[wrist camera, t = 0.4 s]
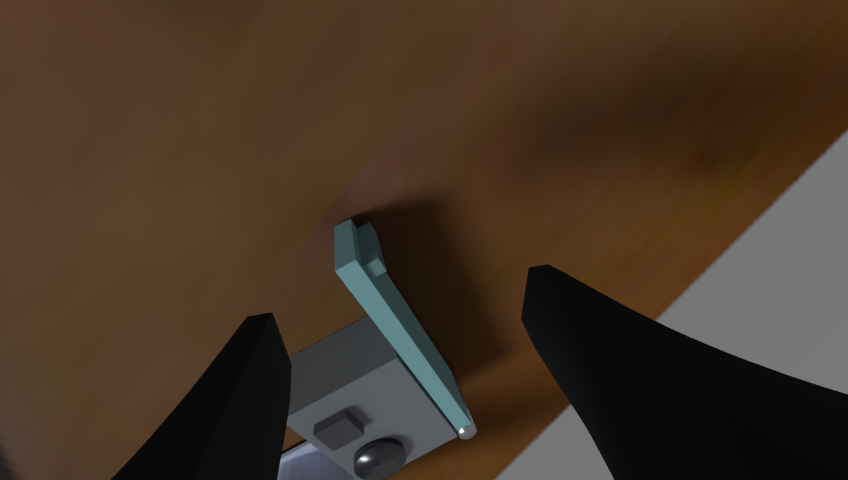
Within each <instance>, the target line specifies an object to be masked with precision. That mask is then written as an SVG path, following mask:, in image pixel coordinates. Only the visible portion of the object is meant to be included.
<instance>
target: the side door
mask: <svg viewBox="0 0 848 480" xmlns="http://www.w3.org/2000/svg"><path fill="white" fill-rule="evenodd" d="M334 241H335V272H336V273H337V274H338V276H339V277H340V278H341V280H342V281H343V282H344V283H345V285H346V286H347V287H348V289H349V290H350V291H351V293H352V294H353V295H354V297H355V298H356V299H357V300H358V302H359V303H360V304H361V306H362V307H363V308H364V310H365V311H366V312H367V313H368V315H369V316H370V317H371V319H372V320H373V321H374V323H375V324H376V325H377V327H378V328H379V329H380V330H381V332H382V333H383V334H384V336H385V337H386V338H387V340H388V341H389V342H390V343H391V345H392V346H393V347H394V349H395V350H396V351H397V353H398V354H399V355H400V357H401V358H402V359H403V360H404V362H405V363H406V364H407V366H408V367H409V368H410V370H411V371H412V372H413V373H414V375H415V376H416V377H417V379H418V380H419V381H420V383H421V384H422V385H423V387H424V388H425V389H426V390H427V392H428V393H429V394H430V396H431V397H432V398H433V400H434V401H435V402H436V403H437V405H438V406H439V407H440V409H441V410H442V411H443V413H444V414H445V415H446V417H447V418H448V419H449V420H450V422H451V423H452V424H453V426H454V427H455V428H456V430H457V431H458V434H459V437H460V438H461V439H464V440H465V439H470V438H472V437H473V436H474V435H475V434H476V433H477V429H476V427H475V424H474V422H473V419H472V417H471V414H470V412H469V409H468V407H467V404H466V402H465V399H464V397H463V394H462V392H461V389H460V387H459V384H458V382H457V379H456V377H455V374H454V372H453V370H451V369H449V367H448V365H447V364H446V362H445V361H444V359H443V358H442V356H441V355H440V353H439V352H438V350H437V349H436V347H435V346H434V344H433V343H432V341H431V340H430V338H429V337H428V335H427V334H426V332H425V331H424V329H423V328H422V326H421V325H420V323H419V322H418V320H417V319H416V317H415V315H414V314H413V312H412V311H411V309H410V308H409V306H408V305H407V303H406V302H405V300H404V299H403V297H402V296H401V294H400V293H399V291H398V290H397V288H396V287H395V285H394V284H393V282H392V281H391V279H390V278H389V276H388V275H387V273H386V271H387V270H386V266H385V263H384V259H383V255H382V252H381V248H380V244H379V241H378V237H377V233H376V232H375V230H374V229H373V227H372V225H371V224H370V222H369V223H367V224H365V225H363V226H361V227H359V228H358V229H357V228H356V226H355V225H354V223H353V222H352V220H351V219H349V220H347V221H345V222H343V223H341V224H340V225H338V226H336V227H334Z"/></svg>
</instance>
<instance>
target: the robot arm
mask: <svg viewBox="0 0 848 480" xmlns="http://www.w3.org/2000/svg"><path fill="white" fill-rule="evenodd" d="M521 320H522V322H523V324H524V326H525V328H526V330H527V333H528V335H529V337H530V339H531V341H532V343H533V345H534V347H535V349H536V350H537V352H538V354H539V355H540V357H541V358H542V360H543V361H544V363H545V365H546V366H547V368H548V369H549V371H550V372H551V374H552V375H553V377H554V378H555V380H556V381H557V383H558V384H559V386H560V388H561V389H562V391H563V392H564V394H565V395H566V397H567V398H568V400H569V401H570V403H571V404H572V406H573V407H574V409H575V410H576V412H577V413H578V415H579V417H580V418H581V420H582V421H583V423H584V424H585V426H586V428H587V429H588V431H589V433H590V435H591V436H592V438H593V440H594V442H595V444H596V446H597V448H598V450H599V451H600V453H601V455H602V457H603V459H604V460H605V462H606V465H607V466H608V468H609V470H610V472H611V474H612V476H613V478H614V480H848V394H844V393H841V392H838V391H834V390H831V389H828V388H825V387H821V386H819V385H816V384H813V383H809V382H806V381H803V380H801V379H797V378H794V377H792V376H788V375H785V374H783V373H780V372H777V371H775V370H772V369H769V368H766V367H764V366H761V365H758V364H755V363H753V362H750V361H747V360H744V359H742V358H739V357H737V356H734V355H731V354H728V353H726V352H724V351H721V350H719V349H717V348H714V347H712V346H709V345H707V344H704V343H702V342H700V341H698V340H695V339H693V338H690V337H688V336H686V335H684V334H681V333H679V332H677V331H675V330H673V329H670V328H668V327H666V326H664V325H662V324H660V323H658V322H656V321H654V320H652V319H650V318H648V317H646V316H644V315H642V314H640V313H638V312H636V311H634V310H632V309H630V308H628V307H626V306H624V305H622V304H620V303H619V302H617V301H615V300H613V299H611V298H609V297H607V296H606V295H604V294H602V293H600V292H598V291H596V290H595V289H593V288H591V287H589V286H587V285H586V284H584V283H582V282H580V281H578V280H577V279H575V278H573V277H571V276H569V275H568V274H566V273H564V272H562V271H560V270H558V269H556V268H554V267H552V266H550V265H542V266H536V267H531V268H529V271H528V277H527V284H526V290H525V296H524V303H523V309H522V316H521ZM291 370H292V364H291V361H290V359H289V356H288V353H287V351H286V348H285V345H284V343H283V340H282V337H281V335H280V332H279V329H278V327H277V324H276V321H275V319H274V316H273V313H266V314H260V315H254V316H249V317H247V318H246V319H245V320H244V321H243V323H242V324H241V325H240V327H239V328H238V329H237V330H236V332H235V333H234V334H233V336H232V337H231V338H230V340H229V341H228V342H227V344H226V345H225V346H224V347H223V349H222V350H221V351H220V353H219V354H218V355H217V357H216V358H215V359H214V361H213V362H212V363H211V364H210V366H209V367H208V368H207V370H206V371H205V372H204V373H203V375H202V376H201V377H200V378H199V380H198V381H197V382H196V383H195V385H194V386H193V387H192V388H191V390H190V391H189V392H188V393H187V395H186V396H185V397H184V398H183V399H182V401H181V402H180V403H179V404H178V405H177V407H176V408H175V409H174V410H173V411H172V412H171V414H170V415H169V416H168V417H167V418H166V419H165V421H164V422H163V423H162V424H161V425H160V426H159V428H158V429H157V430H156V431H155V432H154V433H153V435H152V436H151V437H150V438H149V439H148V440H147V441H146V443H145V444H144V445H143V446H142V447H141V448H140V449H139V450H138V451H137V452H136V454H135V455H134V456H133V457H132V458H131V459H130V460H129V461H128V462H127V463H126V464H125V465H124V467H123V468H122V469H121V470H120V471H119V472H118V473H117V474H116V475H115V476H114V477H113V478H112V479H111V480H357V479H356V478H355V477H353V476H352V475H351V474H349V473H348V472H347V471H346V470H344V469H343V468H342V467H340V466H339V465H338V464H337V463H335V462H334V461H333V460H331V459H330V458H329V457H328V456H326V455H325V454H324V453H322V452H321V451H320V450H318V449H317V448H316V447H315V446H313V445H312V444H311V443H309V442H308V441H306V442H304V443H302V444H300V445H298V446H297V447H295V448H293V449H291V450H289V451H287V452H285V453H284V454H282V448H283V442H284V436H285V430H286V424H287V418H288V412H289V406H290V393H291ZM281 454H282V455H281Z"/></svg>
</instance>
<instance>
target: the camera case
mask: <svg viewBox="0 0 848 480" xmlns="http://www.w3.org/2000/svg"><path fill="white" fill-rule="evenodd" d="M290 361H291V364H292V370H291V393H290V406H289V412H288V418H287V424H286V425H287V426H289V427H290V428H291V429H293V430H294V431H295V432H297V433H298V434H299V435H300V436H302V437H303V438H304V439H306V440H307V441H308V442H309V443H311V444H312V445H313V446H315V447H316V448H317V449H318V450H320V451H321V452H322V453H324V454H325V455H326V456H328V457H329V458H330V459H331V460H333V461H334V462H335V463H337V464H338V465H339V466H340V467H342V468H343V469H344V470H346V471H347V472H348V473H349V474H351V475H352V476H353V477H355V478H356V479H357V480H379V479H383V478H387V477H389V476H391V475H393V474H395V473H396V472H398V471H399V470H400V469H401V468H402V467H403V466H404V465H405V464H407V463H409V462H411V461H413V460H415V459H416V458H418V457H420V456H422V455H424V454H426V453H428V452H429V451H431V450H433V449H435V448H437V447H439V446H441V445H442V444H444V443H446V442H448V441H450V440H452V439H454V438H455V437H457V436H458V435H457V432H456V429H455V427H454V426H453V424H452V423H451V422H450V420H449V419H448V418H447V417H446V415H445V414H444V413H443V411H442V410H441V409H440V407H439V406H438V405H437V403H436V402H435V401H434V400H433V398H432V397H431V396H430V394H429V393H428V392H427V390H426V389H425V388H424V387H423V385H422V384H421V383H420V381H419V380H418V379H417V377H416V376H415V375H414V373H413V372H412V371H411V370H410V368H409V367H408V366H407V364H406V363H405V362H404V360H403V359H402V358H401V357H400V355H399V354H398V353H397V351H396V350H395V349H394V347H393V346H392V345H391V343H390V342H389V341H388V340H387V338H386V337H385V336H384V334H383V333H382V332H381V330H380V329H379V328H378V327H377V325H376V324H375V323H374V321H373V320H372V319H371V317H370V316H369V315H367V316H365V317H363V318H362V319H360V320H358V321H356V322H354V323H352V324H350V325H349V326H347V327H345V328H343V329H341V330H339V331H337V332H336V333H334V334H332V335H330V336H328V337H326V338H324V339H323V340H321V341H319V342H317V343H315V344H313V345H312V346H310V347H308V348H306V349H304V350H302V351H300V352H299V353H297V354H295V355H293V356H291V357H290Z"/></svg>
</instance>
